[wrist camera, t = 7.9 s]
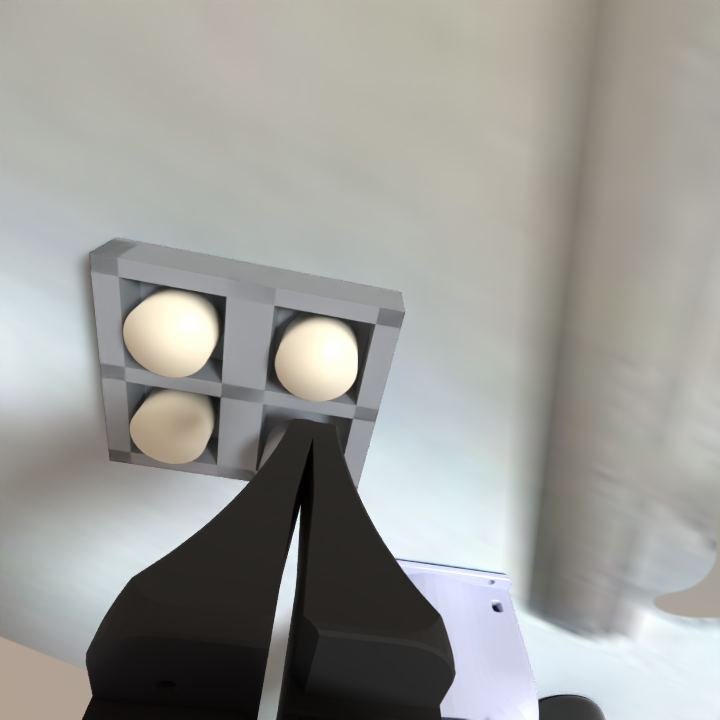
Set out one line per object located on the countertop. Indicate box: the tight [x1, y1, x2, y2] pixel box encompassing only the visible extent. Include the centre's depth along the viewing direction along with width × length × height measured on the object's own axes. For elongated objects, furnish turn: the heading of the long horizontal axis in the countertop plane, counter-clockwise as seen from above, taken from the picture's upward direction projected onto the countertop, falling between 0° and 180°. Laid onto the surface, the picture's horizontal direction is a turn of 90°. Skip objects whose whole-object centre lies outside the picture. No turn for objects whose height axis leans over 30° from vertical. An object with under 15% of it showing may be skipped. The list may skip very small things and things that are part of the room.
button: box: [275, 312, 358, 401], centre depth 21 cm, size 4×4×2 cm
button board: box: [89, 238, 405, 490], centre depth 23 cm, size 13×11×2 cm
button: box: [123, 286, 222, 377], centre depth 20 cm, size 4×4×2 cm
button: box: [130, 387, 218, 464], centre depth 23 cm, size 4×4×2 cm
